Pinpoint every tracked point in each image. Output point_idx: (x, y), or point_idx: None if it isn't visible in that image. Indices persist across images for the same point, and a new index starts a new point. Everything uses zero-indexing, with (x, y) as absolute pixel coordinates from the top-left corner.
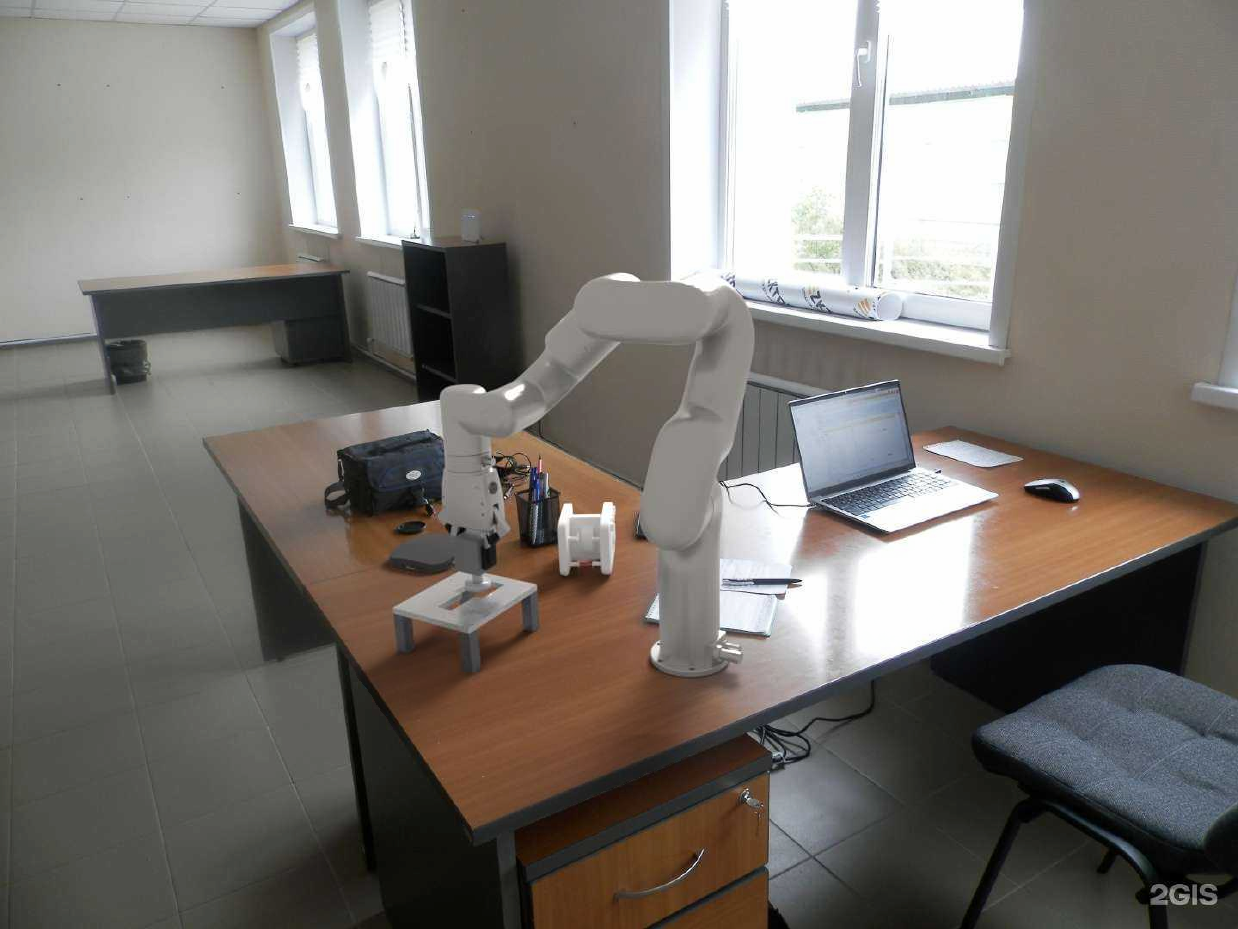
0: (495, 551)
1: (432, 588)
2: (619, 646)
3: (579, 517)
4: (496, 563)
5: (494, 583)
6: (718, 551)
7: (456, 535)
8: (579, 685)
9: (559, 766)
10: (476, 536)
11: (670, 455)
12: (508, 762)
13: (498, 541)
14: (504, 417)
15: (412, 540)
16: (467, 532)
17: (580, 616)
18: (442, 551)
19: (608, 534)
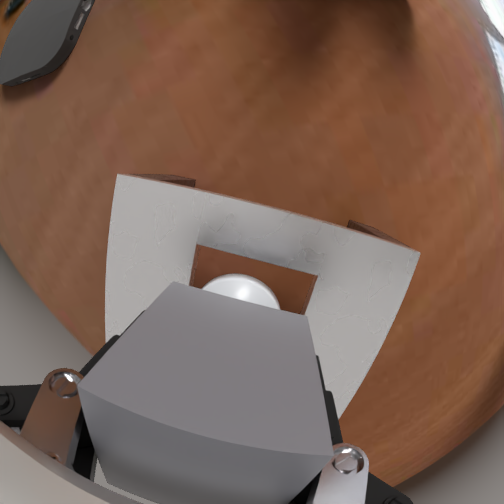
0: (336, 429)
1: (115, 331)
2: (496, 269)
3: None
4: (317, 357)
5: (273, 262)
6: None
7: (96, 463)
8: (447, 378)
9: (418, 463)
10: (219, 498)
11: None
12: (379, 474)
13: (364, 458)
14: None
15: (13, 29)
16: (117, 454)
17: (433, 163)
18: (51, 24)
19: None
